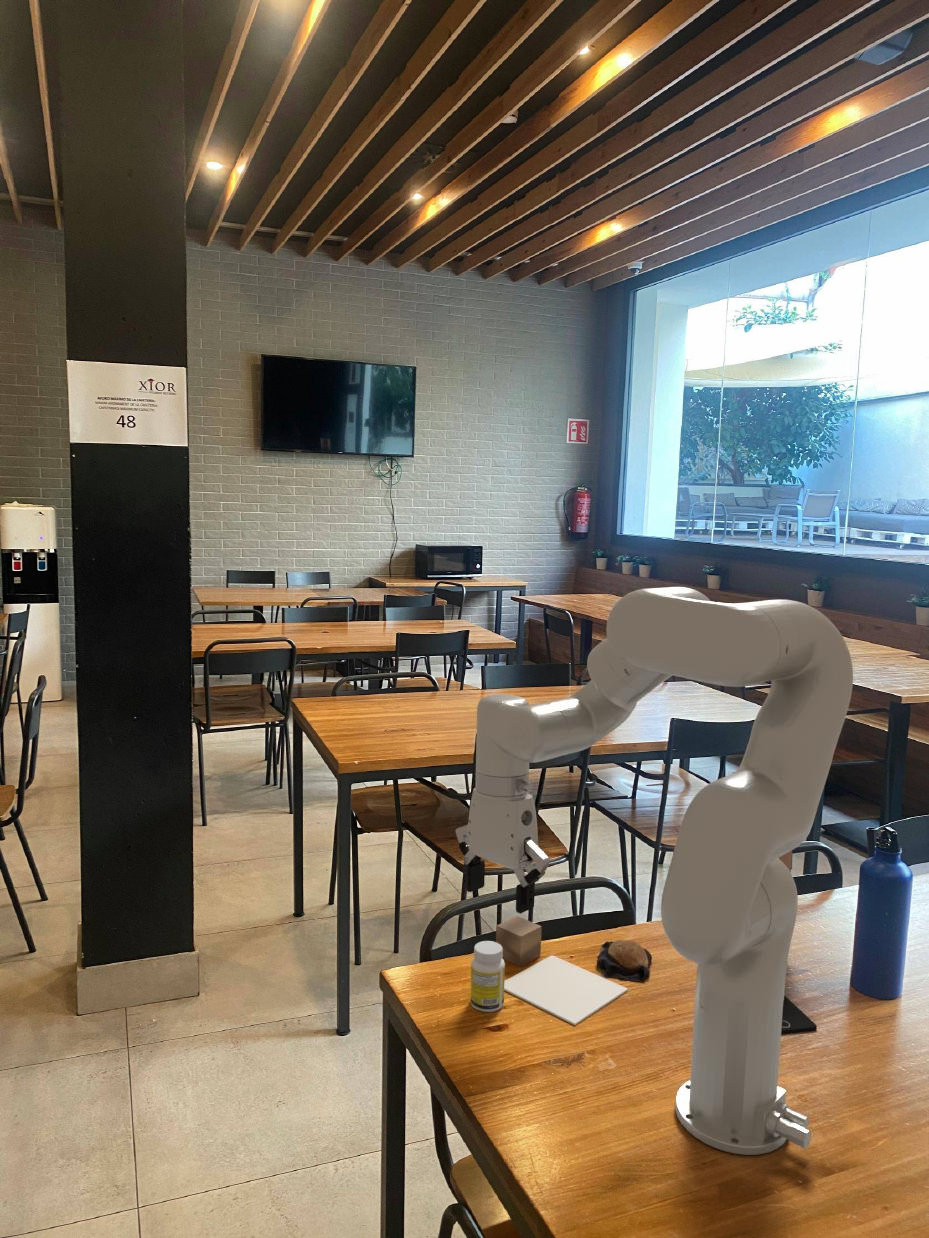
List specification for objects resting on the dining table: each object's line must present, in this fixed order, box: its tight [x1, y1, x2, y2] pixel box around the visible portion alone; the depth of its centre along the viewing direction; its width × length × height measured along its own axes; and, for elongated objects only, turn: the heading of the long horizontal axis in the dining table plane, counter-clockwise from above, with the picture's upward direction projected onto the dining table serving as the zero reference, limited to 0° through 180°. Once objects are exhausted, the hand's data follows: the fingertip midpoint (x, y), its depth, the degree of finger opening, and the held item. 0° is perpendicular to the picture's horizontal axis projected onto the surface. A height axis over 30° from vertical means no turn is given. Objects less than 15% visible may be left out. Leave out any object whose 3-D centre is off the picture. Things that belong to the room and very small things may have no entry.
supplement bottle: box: [470, 940, 506, 1013], centre depth 125 cm, size 5×5×8 cm
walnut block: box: [495, 915, 543, 968], centre depth 139 cm, size 5×5×5 cm
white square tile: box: [504, 954, 629, 1026], centre depth 130 cm, size 14×13×1 cm
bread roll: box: [596, 939, 653, 983], centre depth 138 cm, size 11×8×4 cm
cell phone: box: [781, 994, 818, 1035], centre depth 129 cm, size 9×18×1 cm, turn 12°
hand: (499, 899), depth 127 cm, fingers open, 9 cm apart
